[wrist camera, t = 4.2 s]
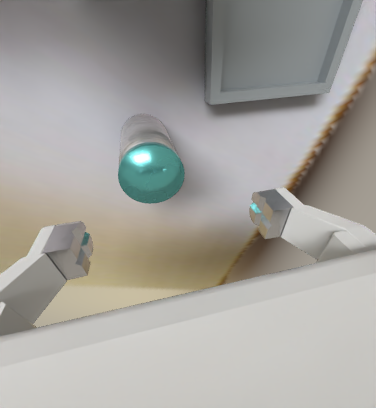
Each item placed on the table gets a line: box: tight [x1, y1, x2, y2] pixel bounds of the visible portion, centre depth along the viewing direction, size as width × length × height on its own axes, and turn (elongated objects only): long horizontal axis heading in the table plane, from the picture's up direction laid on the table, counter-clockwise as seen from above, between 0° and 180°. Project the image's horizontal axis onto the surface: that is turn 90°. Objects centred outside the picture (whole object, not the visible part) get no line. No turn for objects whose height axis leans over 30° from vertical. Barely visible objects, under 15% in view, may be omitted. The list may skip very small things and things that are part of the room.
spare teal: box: [118, 114, 184, 203], centre depth 15 cm, size 4×4×7 cm
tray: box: [205, 0, 363, 105], centre depth 14 cm, size 11×11×2 cm
